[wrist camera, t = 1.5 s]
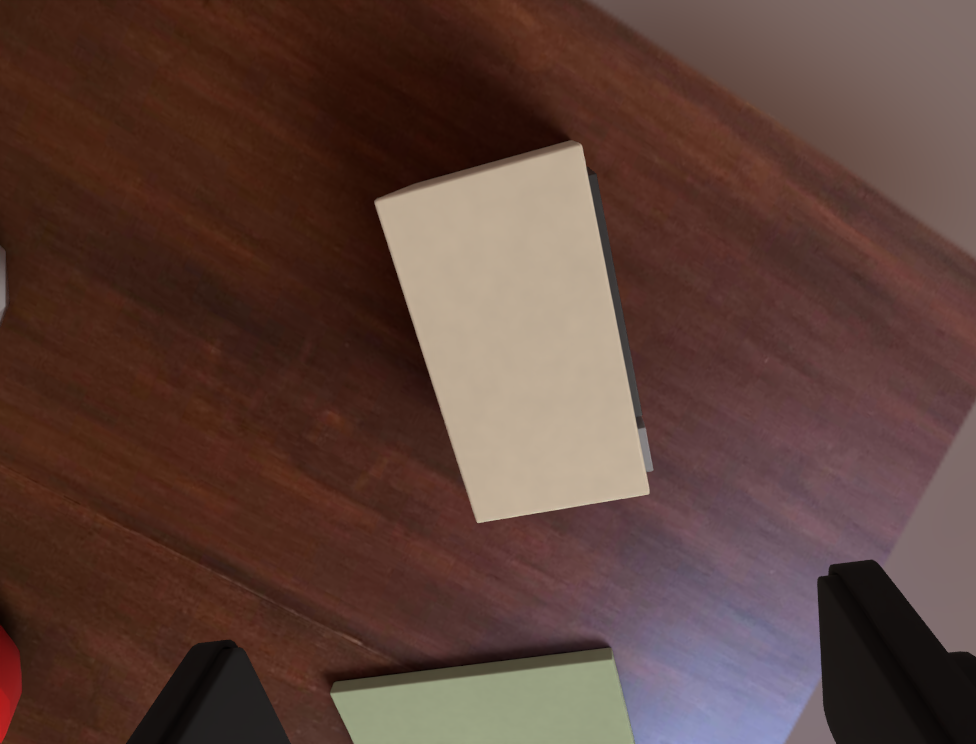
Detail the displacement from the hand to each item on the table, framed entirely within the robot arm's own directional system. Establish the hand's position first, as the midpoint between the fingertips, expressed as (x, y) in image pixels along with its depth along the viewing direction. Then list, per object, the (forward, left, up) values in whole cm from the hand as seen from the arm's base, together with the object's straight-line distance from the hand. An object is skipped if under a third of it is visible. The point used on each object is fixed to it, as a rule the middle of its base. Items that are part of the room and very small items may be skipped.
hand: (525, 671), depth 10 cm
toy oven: (0, -1, -17) cm, 17 cm away
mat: (+8, +26, -17) cm, 32 cm away
